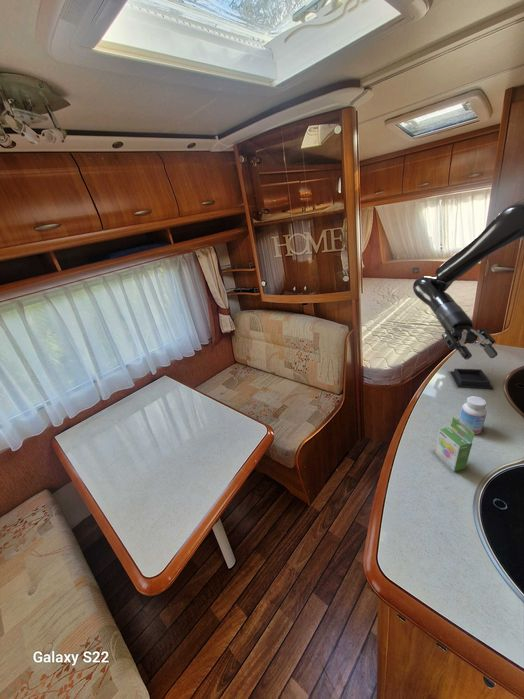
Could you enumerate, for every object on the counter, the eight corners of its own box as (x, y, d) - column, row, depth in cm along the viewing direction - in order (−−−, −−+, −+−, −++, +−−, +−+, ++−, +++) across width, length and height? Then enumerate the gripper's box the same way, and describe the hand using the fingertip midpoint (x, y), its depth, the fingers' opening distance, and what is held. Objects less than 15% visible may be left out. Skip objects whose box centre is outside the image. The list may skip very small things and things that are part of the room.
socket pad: (481, 374, 111) (483, 368, 110) (492, 390, 102) (494, 383, 100) (450, 373, 115) (451, 367, 113) (457, 388, 105) (459, 382, 104)
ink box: (434, 453, 81) (441, 419, 75) (446, 450, 81) (453, 416, 75) (453, 472, 75) (462, 437, 69) (465, 469, 75) (475, 433, 69)
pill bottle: (476, 438, 84) (484, 409, 79) (454, 428, 88) (460, 400, 83) (484, 428, 87) (492, 400, 82) (462, 419, 91) (469, 392, 86)
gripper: (439, 311, 87) (468, 350, 77) (479, 309, 89) (512, 348, 79) (427, 326, 93) (452, 365, 83) (464, 325, 94) (493, 363, 85)
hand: (481, 357), depth 81 cm, fingers open, 8 cm apart
